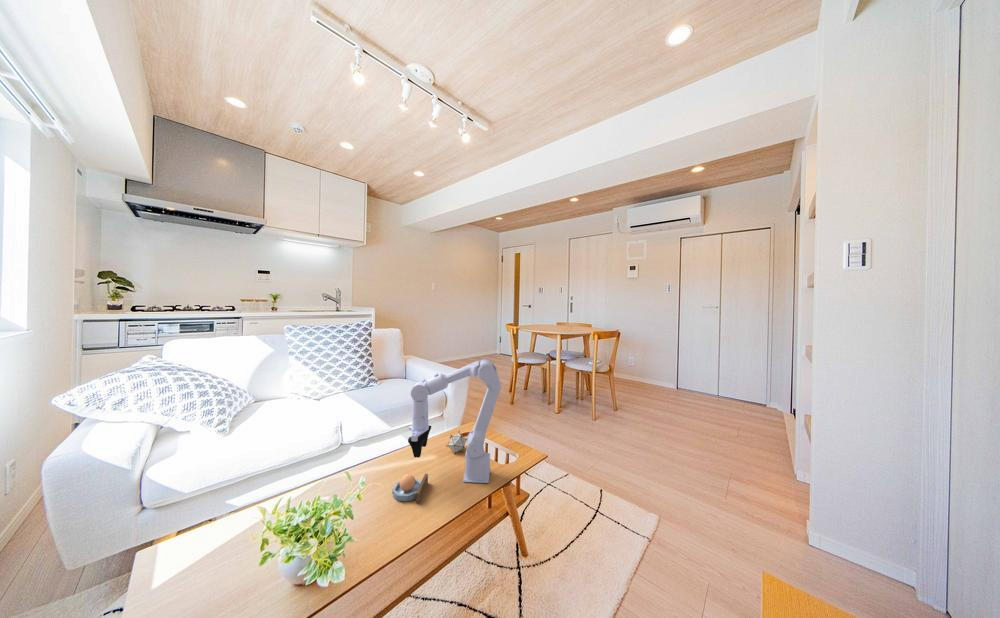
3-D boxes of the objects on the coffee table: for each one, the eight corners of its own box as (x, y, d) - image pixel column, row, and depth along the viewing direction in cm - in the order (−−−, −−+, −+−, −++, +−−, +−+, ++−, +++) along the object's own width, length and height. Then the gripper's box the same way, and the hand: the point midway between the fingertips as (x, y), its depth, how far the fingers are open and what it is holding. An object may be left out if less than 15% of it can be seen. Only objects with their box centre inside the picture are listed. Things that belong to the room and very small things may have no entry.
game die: (453, 461, 132) (439, 445, 129) (458, 445, 139) (445, 430, 137) (469, 455, 129) (455, 439, 126) (474, 439, 136) (460, 423, 134)
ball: (417, 485, 107) (417, 471, 107) (412, 495, 102) (412, 479, 102) (402, 485, 108) (402, 470, 108) (397, 494, 102) (397, 479, 102)
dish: (425, 484, 109) (425, 479, 109) (416, 502, 100) (416, 496, 100) (399, 483, 110) (399, 478, 110) (388, 501, 100) (388, 495, 100)
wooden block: (427, 483, 110) (427, 473, 110) (418, 503, 99) (418, 493, 99) (425, 483, 110) (425, 473, 110) (415, 503, 99) (415, 493, 99)
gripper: (415, 407, 119) (415, 441, 120) (402, 423, 105) (402, 461, 105) (433, 408, 119) (433, 442, 120) (422, 423, 105) (422, 462, 105)
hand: (420, 451), depth 112 cm, fingers open, 7 cm apart
